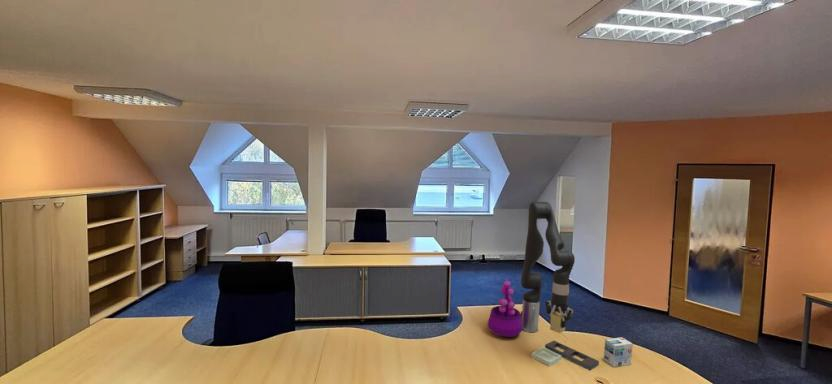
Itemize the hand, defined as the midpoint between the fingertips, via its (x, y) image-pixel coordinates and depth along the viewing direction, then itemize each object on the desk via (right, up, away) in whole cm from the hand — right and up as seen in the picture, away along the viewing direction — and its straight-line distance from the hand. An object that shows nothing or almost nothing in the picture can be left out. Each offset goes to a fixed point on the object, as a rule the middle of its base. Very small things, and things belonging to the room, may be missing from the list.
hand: (557, 325), depth 180 cm
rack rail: (+8, -17, +4) cm, 19 cm away
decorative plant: (-20, -14, +27) cm, 36 cm away
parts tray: (-5, -17, +2) cm, 18 cm away
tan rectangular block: (0, -2, 0) cm, 2 cm away
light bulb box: (+29, -18, 0) cm, 34 cm away
